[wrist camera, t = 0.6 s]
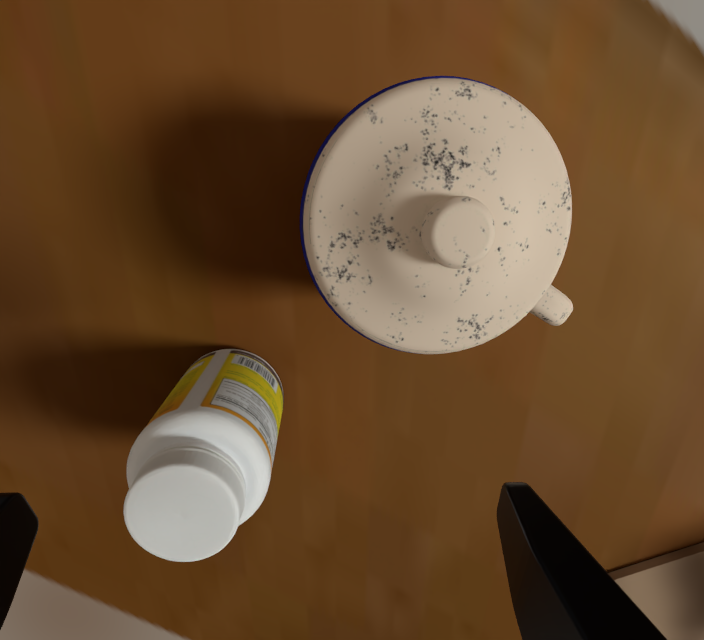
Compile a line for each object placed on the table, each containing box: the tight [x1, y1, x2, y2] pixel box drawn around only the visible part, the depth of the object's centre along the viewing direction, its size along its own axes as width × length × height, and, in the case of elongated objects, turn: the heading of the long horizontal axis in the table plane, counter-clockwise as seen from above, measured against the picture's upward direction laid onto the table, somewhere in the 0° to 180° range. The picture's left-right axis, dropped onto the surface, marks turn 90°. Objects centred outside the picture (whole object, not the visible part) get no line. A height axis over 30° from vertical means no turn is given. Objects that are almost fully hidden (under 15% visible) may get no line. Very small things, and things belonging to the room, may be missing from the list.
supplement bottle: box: [123, 349, 284, 562], centre depth 21 cm, size 6×6×10 cm
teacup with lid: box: [300, 76, 573, 354], centre depth 19 cm, size 12×9×12 cm
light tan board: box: [608, 542, 704, 640], centre depth 32 cm, size 11×11×1 cm
